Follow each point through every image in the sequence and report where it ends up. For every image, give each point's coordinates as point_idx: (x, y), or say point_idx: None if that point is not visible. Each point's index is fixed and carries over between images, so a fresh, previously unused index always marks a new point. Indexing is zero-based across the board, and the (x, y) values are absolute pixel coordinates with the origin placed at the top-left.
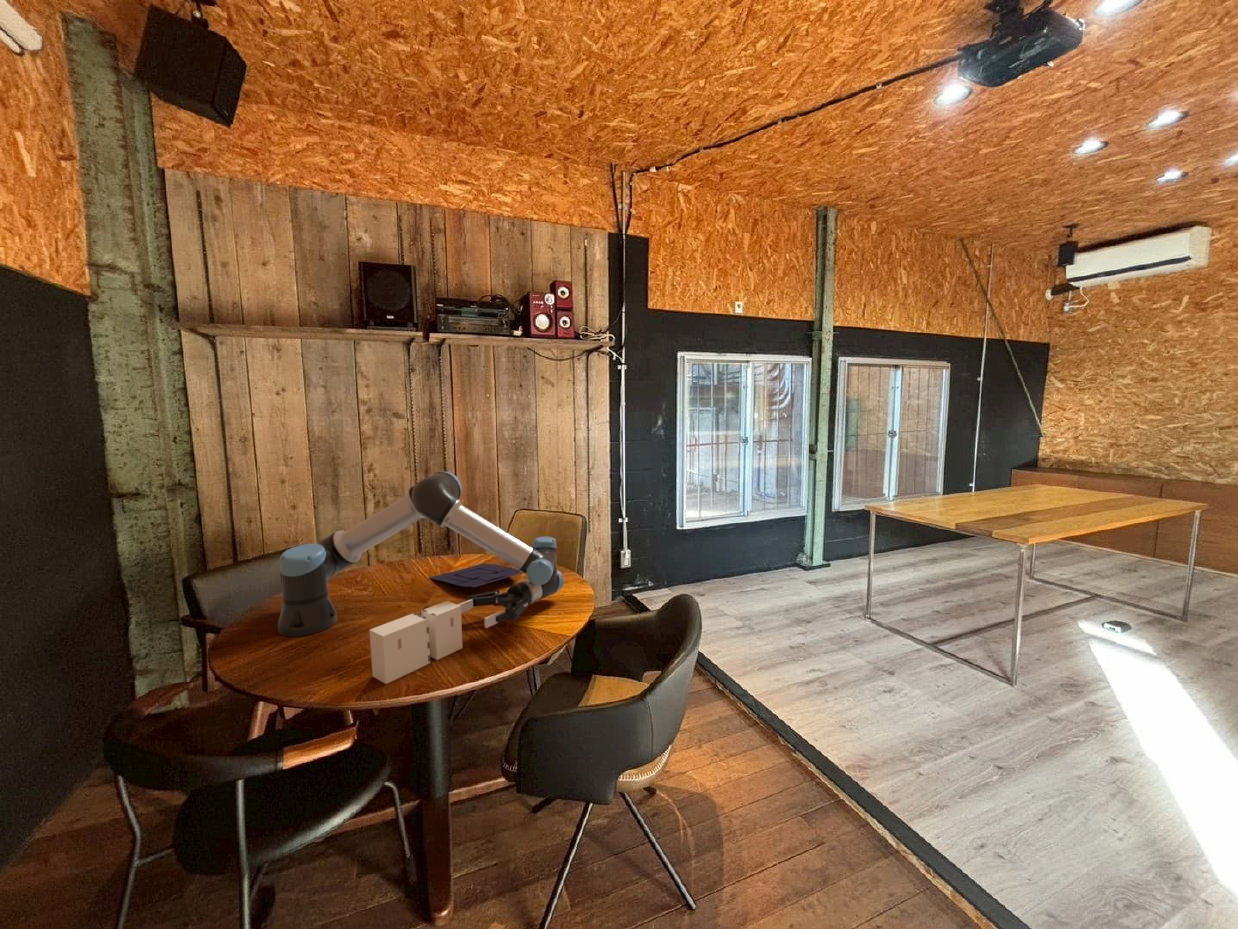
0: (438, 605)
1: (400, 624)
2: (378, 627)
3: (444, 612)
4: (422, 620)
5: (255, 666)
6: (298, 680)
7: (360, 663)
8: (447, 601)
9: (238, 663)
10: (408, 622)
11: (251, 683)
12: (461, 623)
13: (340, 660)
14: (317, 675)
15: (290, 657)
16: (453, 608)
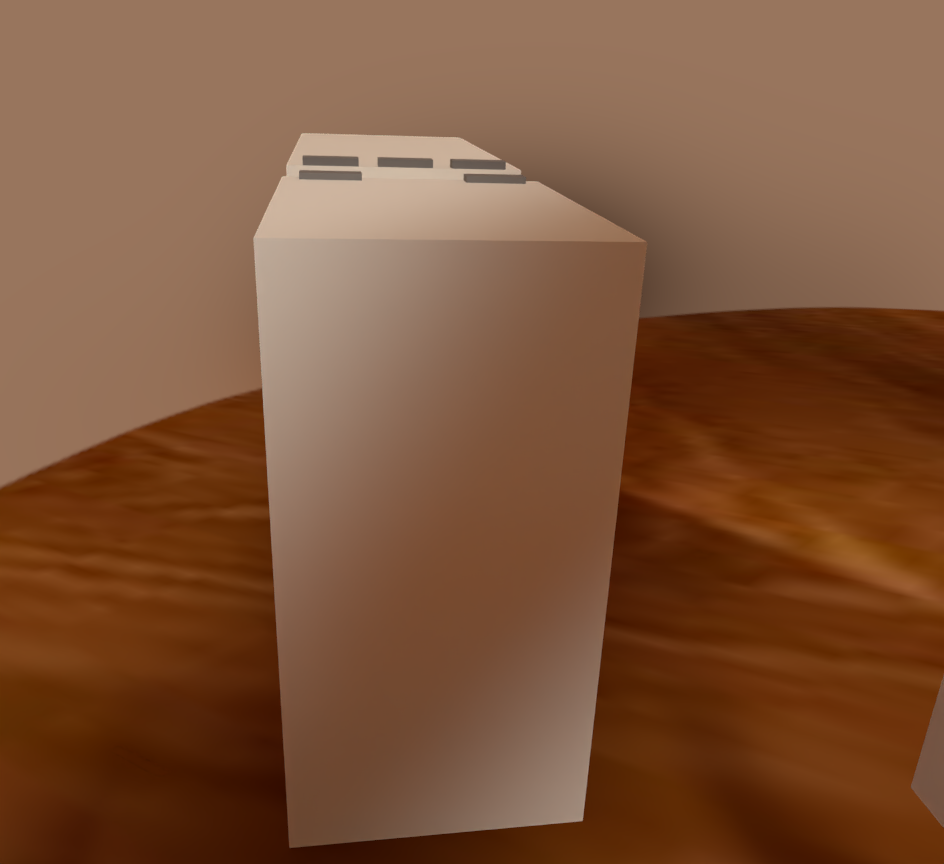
0: (545, 209)
1: (378, 148)
2: (449, 140)
3: (275, 194)
4: (294, 158)
5: (866, 330)
6: (646, 348)
7: (649, 435)
8: (610, 237)
9: (922, 322)
10: (361, 152)
11: (722, 316)
12: (273, 537)
13: (750, 414)
14: (645, 368)
15: (901, 365)
16: (273, 213)
